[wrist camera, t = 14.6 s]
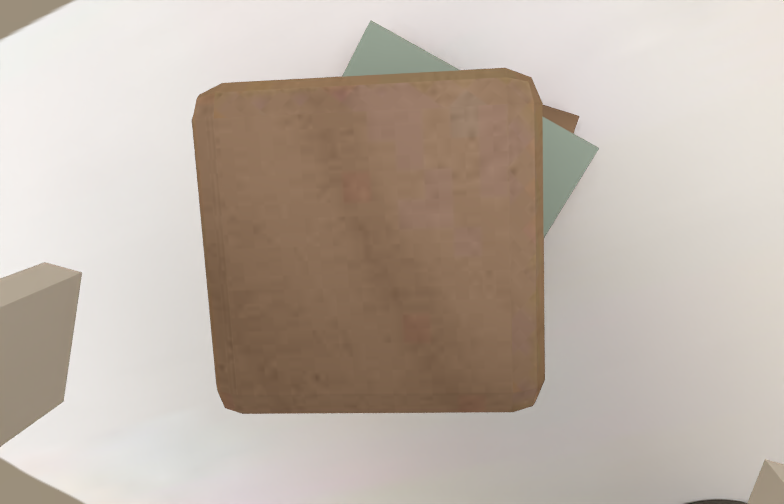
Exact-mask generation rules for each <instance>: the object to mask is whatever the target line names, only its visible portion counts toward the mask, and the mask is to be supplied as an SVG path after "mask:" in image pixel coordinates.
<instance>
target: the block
mask: <svg viewBox="0 0 784 504" xmlns="http://www.w3.org/2000/svg"><path fill="white" fill-rule="evenodd" d="M192 127H193V138H194V149H195V160H196V170H197V181H198V192H199V203H200V214H201V224H202V235H203V246H204V257H205V267H206V278H207V289H208V300H209V310H210V321H211V332H212V343H213V354H214V364H215V375H216V384H217V390H218V393H219V395H220V398H221V400H222V402H223V404H224V407H225V408H227V409H230V410H233V411H236V412H239V413H242V414H261V413H441V412H515V411H518V410H521V409H524V408H527V407H531V406H533V404H534V403H535V401H536V399H537V397H538V394H539V392H540V390H541V387H542V385H543V383H544V380H545V348H544V233H543V118H542V101H541V99H540V97H539V94H538V92H537V90H536V87H535V85H534V83H533V80H532V78H531V77H529V76H526V75H523V74H520V73H518V72H515V71H512V70H509V69H507V68H495V69H476V70H457V71H439V72H420V73H401V74H383V75H364V76H345V77H327V78H308V79H290V80H271V81H252V82H234V83H222V84H220V85H218V86H216V87H214V88H212V89H210V90H208V91H206V92H204V93H202V94H200V95H199V96H198V98H197V100H196V105H195V110H194V115H193V118H192Z"/></svg>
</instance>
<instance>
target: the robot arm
mask: <svg viewBox="0 0 784 504" xmlns="http://www.w3.org/2000/svg"><path fill="white" fill-rule="evenodd" d="M81 276H82V272H78V271H74V270H71V269H67V268H64V267H60V266H56V265H53V264H49V263H45V262H44V263H42V264H39V265H36V266H34V267H31V268H28V269H25V270H23V271H20V272H17V273H14V274H12V275H9V276H6V277H3V278H1V279H0V447H1V446H2V445H3V444H5V443H6V442H8V441H9V440H10V439H12V438H13V437H15V436H16V435H17V434H19V433H20V432H21V431H23V430H24V429H26V428H27V427H28V426H30V425H31V424H33V423H34V422H35V421H37V420H38V419H40V418H41V417H42V416H44V415H45V414H47V413H48V412H49V411H51V410H52V409H54V408H55V407H56V406H58V405H59V404H61V403H62V402H63V401H64V394H65V387H66V380H67V373H68V366H69V359H70V352H71V345H72V338H73V332H74V325H75V318H76V311H77V304H78V297H79V290H80V283H81ZM691 504H784V464H780V463H776V462H773V461H769V460H766V459H765V461H764V463H763V466H762V468H761V471H760V473H759V476H758V478H757V481H756V483H755V486H754V488H753V491H752V493H751V496H750V498H749V501H748V503H742V502H736V501H724V500H712V501H702V502H695V503H691Z"/></svg>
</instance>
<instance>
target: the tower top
mask: <svg viewBox="0 0 784 504" xmlns="http://www.w3.org/2000/svg"><path fill="white" fill-rule="evenodd" d="M457 70H459V69H457V68H455V67H453V66H451V65H450V64H448V63H446V62H444V61H443V60H441V59H439V58H437V57H435V56H434V55H432V54H430V53H428V52H426V51H425V50H423V49H421V48H419V47H418V46H416V45H414V44H412V43H410V42H409V41H407V40H405V39H403V38H401V37H400V36H398V35H396V34H394V33H393V32H391V31H389V30H387V29H385V28H384V27H382V26H380V25H378V24H376V23H375V22H373V21H370V23H369V25H368V27H367V29H366V31H365V33H364V34H363V36H362V38H361V40H360V42H359V44H358V46H357V48H356V50H355V52H354V54H353V56H352V58H351V60H350V62H349V64H348V66H347V68H346V70H345V72H344V74H343V76H342V77H345V76H364V75H383V74H401V73H420V72H439V71H457ZM542 118H543V233H544V237H545V235H546V234H547V232H548V230H549V229H550V227H551V226H552V224H553V222H554V221H555V219H556V217H557V216H558V214H559V213H560V211H561V209H562V208H563V206H564V204H565V203H566V201H567V200H568V198H569V196H570V195H571V193H572V192H573V190H574V188H575V187H576V185H577V183H578V182H579V180H580V179H581V177H582V175H583V174H584V172H585V170H586V169H587V167H588V166H589V164H590V162H591V161H592V159H593V157H594V156H595V154H596V153H597V151H598V149H599V148H598V147H596V146H594V145H592V144H591V143H589V142H587V141H585V140H584V139H582V138H580V137H578V136H576V135H575V134H573V133H571V132H569V131H567V130H566V129H564V128H562V127H560V126H559V125H557V124H555V123H553V122H551V121H550V120H548V119H546V118H544V117H542Z"/></svg>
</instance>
